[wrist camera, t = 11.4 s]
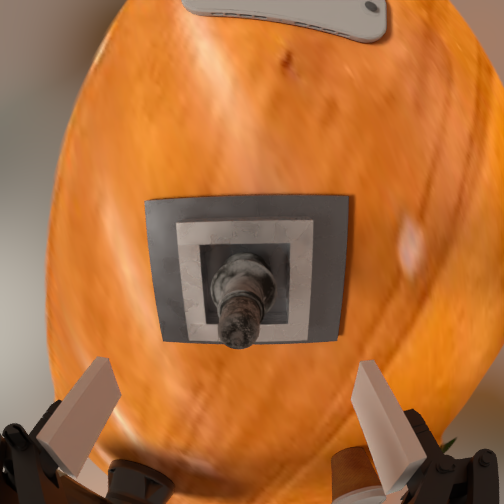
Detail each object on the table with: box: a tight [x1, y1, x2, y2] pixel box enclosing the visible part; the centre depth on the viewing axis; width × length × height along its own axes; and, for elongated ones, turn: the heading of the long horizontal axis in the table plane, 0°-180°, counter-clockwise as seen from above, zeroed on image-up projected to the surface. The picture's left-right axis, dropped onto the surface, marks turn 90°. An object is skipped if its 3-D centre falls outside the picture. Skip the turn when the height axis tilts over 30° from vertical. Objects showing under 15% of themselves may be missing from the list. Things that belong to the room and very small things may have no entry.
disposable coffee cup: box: [331, 447, 386, 504], centre depth 32 cm, size 10×10×12 cm
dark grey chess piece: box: [211, 252, 277, 349], centre depth 22 cm, size 6×6×12 cm
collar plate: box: [145, 195, 349, 344], centre depth 27 cm, size 20×16×4 cm
